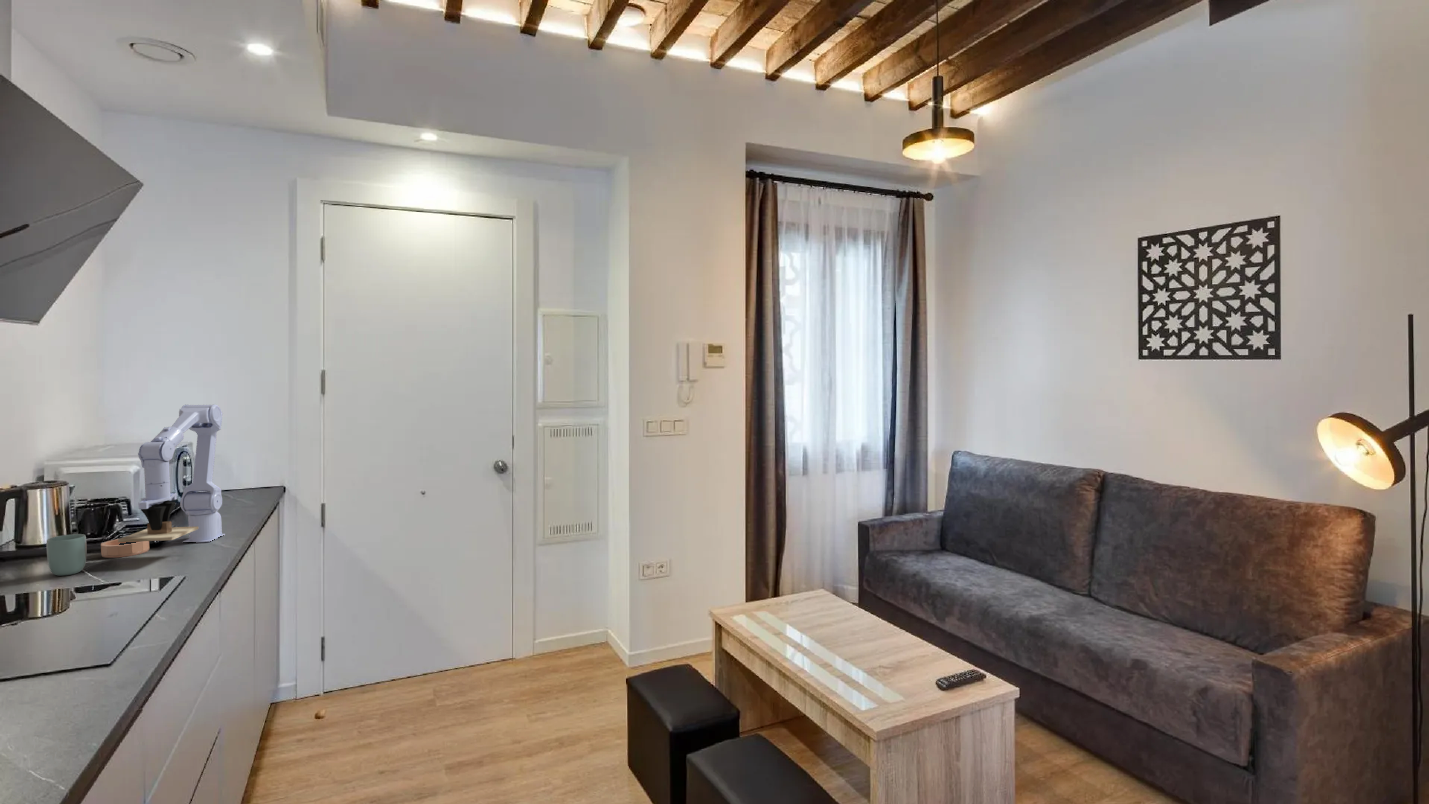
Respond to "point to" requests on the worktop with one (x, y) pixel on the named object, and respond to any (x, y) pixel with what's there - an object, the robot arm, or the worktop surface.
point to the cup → (66, 554)
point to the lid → (158, 533)
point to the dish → (123, 548)
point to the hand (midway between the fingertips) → (159, 528)
